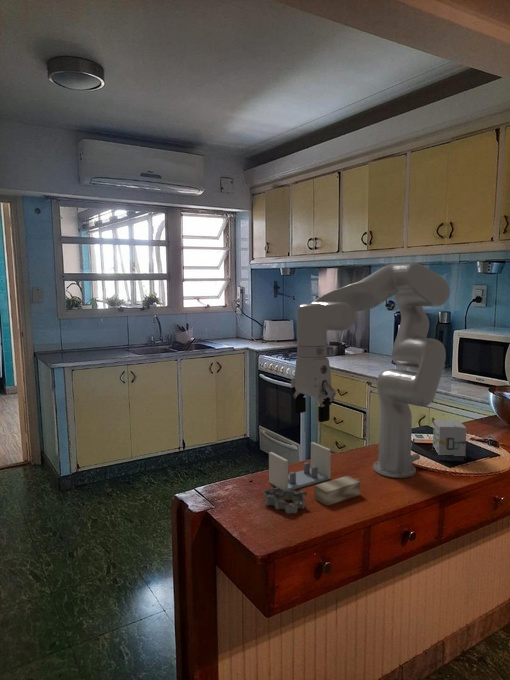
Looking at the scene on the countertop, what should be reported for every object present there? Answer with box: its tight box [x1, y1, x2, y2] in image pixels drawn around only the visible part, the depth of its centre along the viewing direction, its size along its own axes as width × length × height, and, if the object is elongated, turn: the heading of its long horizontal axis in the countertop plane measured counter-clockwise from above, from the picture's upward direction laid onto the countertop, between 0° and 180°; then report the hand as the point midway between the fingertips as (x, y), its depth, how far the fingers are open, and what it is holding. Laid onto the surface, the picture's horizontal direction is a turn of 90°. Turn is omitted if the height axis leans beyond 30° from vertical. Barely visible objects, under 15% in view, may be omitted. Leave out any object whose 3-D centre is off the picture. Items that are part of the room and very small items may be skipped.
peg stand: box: [268, 441, 332, 491], centre depth 138 cm, size 17×8×9 cm, turn 122°
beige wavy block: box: [313, 475, 361, 506], centre depth 128 cm, size 12×5×4 cm, turn 122°
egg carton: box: [261, 486, 308, 514], centre depth 123 cm, size 11×8×4 cm
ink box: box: [432, 419, 467, 457], centre depth 156 cm, size 8×8×12 cm
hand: (311, 416), depth 123 cm, fingers open, 9 cm apart
